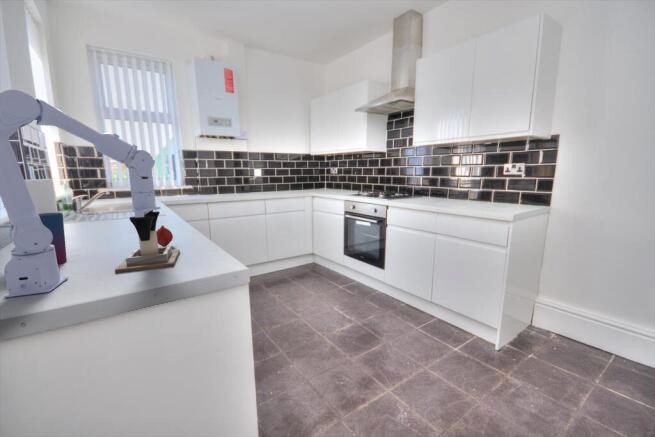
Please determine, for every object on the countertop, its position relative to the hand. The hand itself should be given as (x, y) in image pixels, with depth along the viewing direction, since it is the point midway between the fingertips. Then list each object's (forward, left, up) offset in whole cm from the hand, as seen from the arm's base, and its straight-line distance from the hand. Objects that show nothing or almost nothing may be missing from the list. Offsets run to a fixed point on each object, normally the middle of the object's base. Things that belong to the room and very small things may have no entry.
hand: (148, 237), depth 86 cm
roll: (0, 0, -6) cm, 6 cm away
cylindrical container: (+19, +32, -8) cm, 38 cm away
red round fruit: (+18, -1, -8) cm, 20 cm away
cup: (+10, +27, -8) cm, 30 cm away
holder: (0, 0, -7) cm, 7 cm away
